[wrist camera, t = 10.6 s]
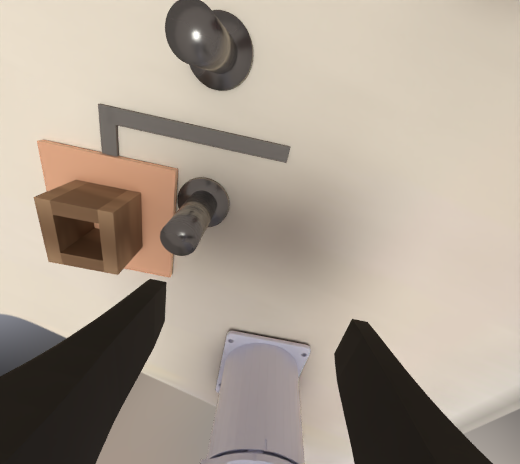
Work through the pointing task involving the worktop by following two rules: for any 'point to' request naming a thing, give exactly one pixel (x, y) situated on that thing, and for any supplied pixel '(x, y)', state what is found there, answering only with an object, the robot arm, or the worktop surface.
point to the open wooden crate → (91, 225)
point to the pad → (124, 177)
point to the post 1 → (210, 43)
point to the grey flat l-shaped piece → (181, 134)
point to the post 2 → (194, 215)
